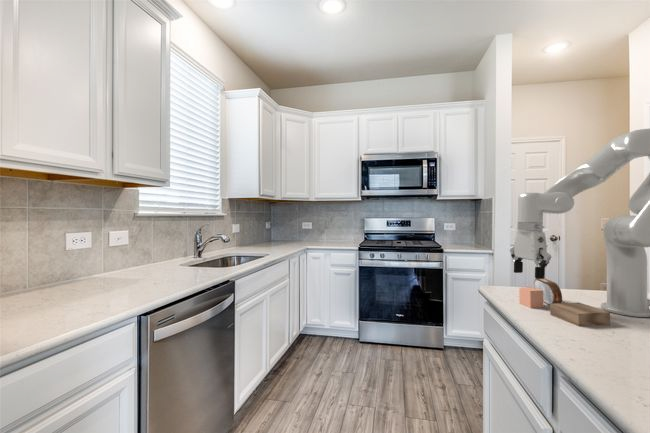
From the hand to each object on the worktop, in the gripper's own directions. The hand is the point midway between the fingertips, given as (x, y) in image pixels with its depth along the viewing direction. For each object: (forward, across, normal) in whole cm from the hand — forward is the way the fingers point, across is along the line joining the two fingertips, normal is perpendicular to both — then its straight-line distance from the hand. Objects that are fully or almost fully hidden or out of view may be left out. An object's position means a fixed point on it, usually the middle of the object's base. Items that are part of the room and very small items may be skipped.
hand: (528, 275), depth 109 cm
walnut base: (+11, -16, -4) cm, 19 cm away
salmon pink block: (+11, 0, -1) cm, 11 cm away
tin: (+11, +2, -9) cm, 14 cm away
